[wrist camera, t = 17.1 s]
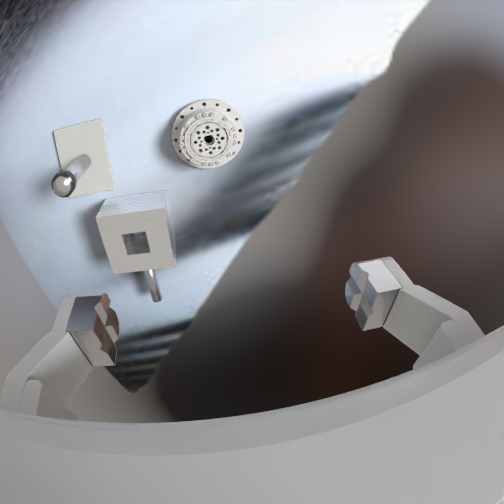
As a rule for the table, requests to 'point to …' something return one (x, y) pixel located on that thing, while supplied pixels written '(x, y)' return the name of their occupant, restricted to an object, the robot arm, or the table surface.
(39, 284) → the table surface
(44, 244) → the table surface
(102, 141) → the mat
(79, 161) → the grey capped cylinder
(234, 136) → the mechanical component
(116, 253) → the block
